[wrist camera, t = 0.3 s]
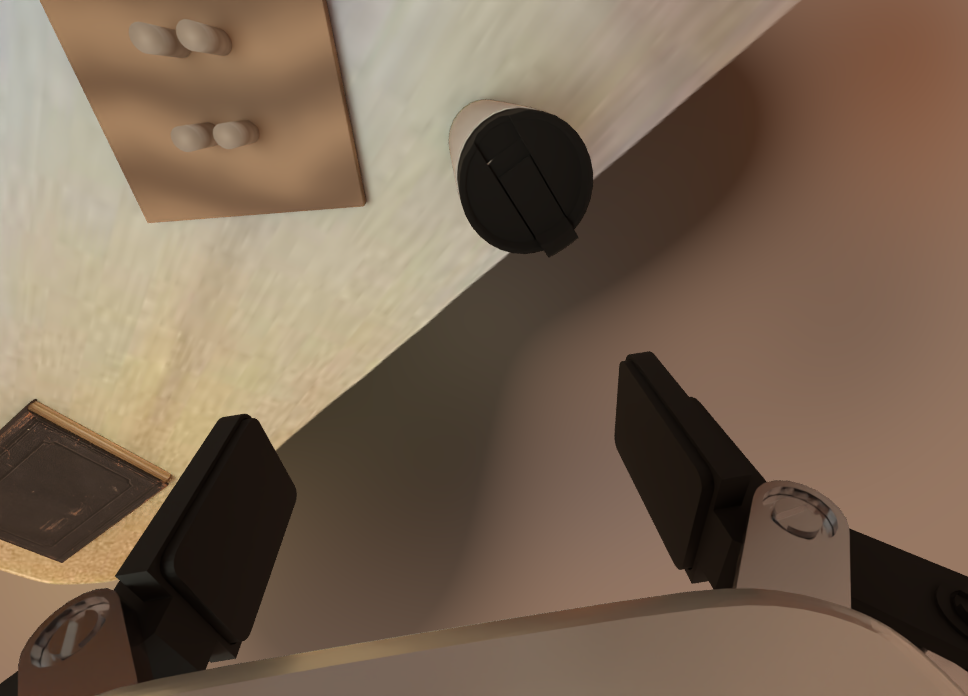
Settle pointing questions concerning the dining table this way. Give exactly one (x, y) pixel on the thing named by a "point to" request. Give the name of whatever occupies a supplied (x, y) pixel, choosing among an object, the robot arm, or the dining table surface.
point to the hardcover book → (66, 483)
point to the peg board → (216, 102)
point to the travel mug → (520, 176)
